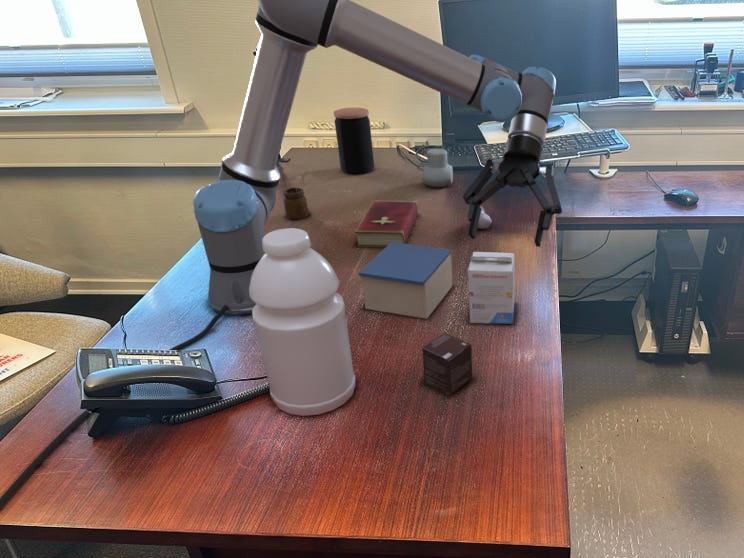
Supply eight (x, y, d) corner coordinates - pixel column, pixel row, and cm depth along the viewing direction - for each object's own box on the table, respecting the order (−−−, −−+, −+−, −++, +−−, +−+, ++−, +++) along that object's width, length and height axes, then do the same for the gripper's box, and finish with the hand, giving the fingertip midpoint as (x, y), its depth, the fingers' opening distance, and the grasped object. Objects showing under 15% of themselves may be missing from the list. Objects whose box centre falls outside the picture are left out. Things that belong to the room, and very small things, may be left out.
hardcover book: (418, 215, 174) (417, 200, 171) (405, 247, 156) (403, 231, 154) (374, 214, 175) (372, 199, 172) (356, 246, 157) (354, 230, 155)
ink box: (515, 304, 133) (516, 244, 125) (512, 325, 126) (514, 262, 118) (473, 302, 133) (472, 242, 126) (468, 323, 126) (467, 261, 119)
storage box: (427, 318, 128) (424, 283, 124) (365, 308, 132) (361, 274, 127) (452, 286, 140) (451, 253, 135) (394, 277, 143) (391, 245, 139)
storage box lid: (423, 285, 123) (423, 282, 123) (359, 276, 127) (358, 272, 126) (451, 252, 135) (451, 249, 135) (391, 245, 139) (391, 241, 138)
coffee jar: (381, 168, 208) (375, 109, 198) (359, 177, 200) (352, 117, 190) (356, 163, 213) (349, 105, 202) (333, 171, 205) (325, 113, 195)
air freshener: (426, 178, 199) (425, 145, 193) (453, 178, 199) (452, 145, 193) (422, 190, 190) (420, 156, 184) (450, 190, 190) (449, 156, 184)
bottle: (303, 361, 116) (274, 212, 100) (371, 377, 112) (352, 224, 96) (254, 406, 105) (213, 248, 89) (326, 426, 101) (297, 263, 85)
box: (447, 367, 114) (445, 331, 110) (473, 379, 111) (472, 343, 107) (423, 383, 110) (421, 347, 106) (449, 396, 107) (448, 359, 103)
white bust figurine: (489, 235, 165) (470, 230, 164) (488, 222, 172) (469, 217, 171) (495, 220, 163) (475, 214, 162) (493, 207, 169) (474, 202, 168)
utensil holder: (310, 218, 173) (303, 173, 166) (286, 221, 171) (278, 176, 164) (307, 210, 177) (300, 167, 171) (283, 213, 176) (275, 170, 169)
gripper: (587, 157, 132) (567, 254, 129) (471, 147, 138) (450, 240, 135) (584, 137, 125) (563, 240, 121) (462, 128, 131) (440, 225, 128)
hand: (503, 240), depth 128 cm, fingers open, 13 cm apart
